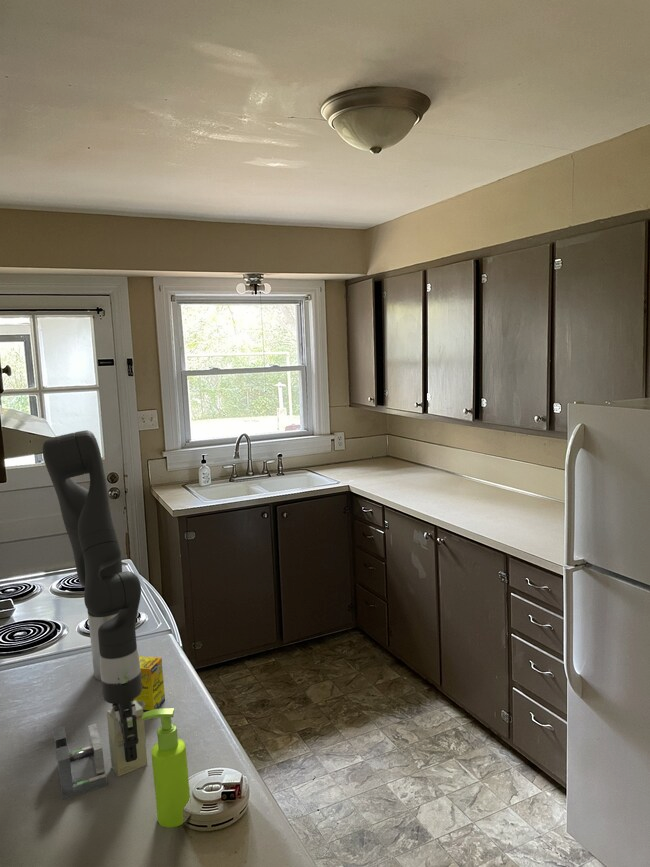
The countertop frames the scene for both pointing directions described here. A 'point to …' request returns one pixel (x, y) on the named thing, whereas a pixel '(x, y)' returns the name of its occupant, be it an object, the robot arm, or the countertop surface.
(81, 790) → the grey bracket with rod
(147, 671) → the supplement box
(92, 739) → the grey t-shaped piece
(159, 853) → the countertop surface
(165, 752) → the soap dispenser
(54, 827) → the countertop surface
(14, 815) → the countertop surface
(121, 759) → the skincare box
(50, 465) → the robot arm
